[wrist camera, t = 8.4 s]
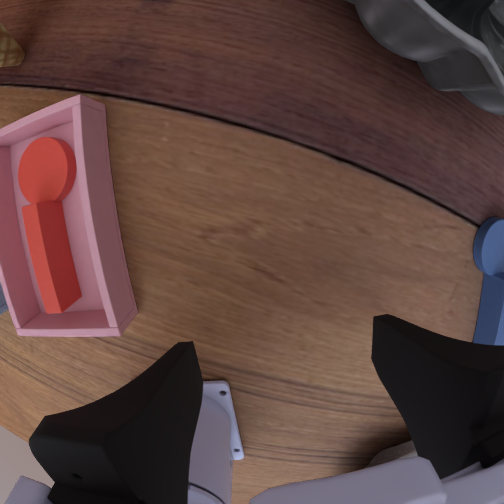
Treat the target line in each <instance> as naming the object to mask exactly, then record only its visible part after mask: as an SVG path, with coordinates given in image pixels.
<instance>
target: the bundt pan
mask: <svg viewBox="0 0 504 504" xmlns="http://www.w3.org/2000/svg"><path fill="white" fill-rule="evenodd" d="M345 1H347V2H349V3H352V4H354V5H355V7H356V10H357V13H358V15H359V18H360V20H361V22H362V24H363V25H364V27H365V28H366V30H367V31H368V32H369V34H370V35H371V36H372V37H373V38H374V39H375V40H376V41H377V42H378V43H379V44H381V45H382V46H383V47H385V48H386V49H388V50H390V51H391V52H393V53H395V54H397V55H399V56H401V57H404V58H407V59H411V60H414V61H416V62H417V63H418V65H419V67H420V69H421V71H422V73H423V75H424V77H425V79H426V81H427V82H428V84H429V85H430V86H432V87H433V88H434V89H437V90H439V91H459V92H460V93H461V94H462V95H463V96H464V97H465V98H467V99H468V100H469V101H470V102H471V103H473V104H474V105H476V106H477V107H479V108H481V109H483V110H485V111H488V112H491V113H494V114H497V115H504V0H345Z"/></svg>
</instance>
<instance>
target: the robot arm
mask: <svg viewBox="0 0 504 504" xmlns="http://www.w3.org/2000/svg"><path fill="white" fill-rule="evenodd" d="M371 359H372V361H373V364H374V367H375V369H376V371H377V374H378V376H379V378H380V380H381V382H382V383H383V385H384V387H385V388H386V390H387V392H388V393H389V395H390V397H391V398H392V400H393V402H394V403H395V405H396V407H397V408H398V410H399V412H400V413H401V415H402V417H403V419H404V421H405V424H406V426H407V428H408V431H409V433H410V436H411V438H412V441H413V444H414V447H415V449H416V452H417V455H418V456H414V457H409V458H403V459H397V460H394V461H390V462H387V463H384V464H380V465H377V466H373V467H369V468H365V469H362V470H357V471H353V472H349V473H345V474H340V475H335V476H330V477H325V478H319V479H314V480H308V481H301V482H294V483H289V484H285V485H281V486H276V487H272V488H269V489H267V490H265V491H264V492H262V493H260V494H258V495H257V496H255V497H253V498H252V499H250V502H249V504H504V345H486V344H478V343H472V342H466V341H462V340H458V339H453V338H450V337H446V336H443V335H440V334H437V333H434V332H432V331H429V330H426V329H424V328H421V327H419V326H417V325H414V324H412V323H409V322H407V321H405V320H402V319H400V318H397V317H395V316H392V315H389V314H384V315H379V316H374V317H373V340H372V357H371ZM221 391H225V393H222V392H221ZM29 446H30V449H31V451H32V453H33V455H34V456H35V458H36V460H37V461H38V462H39V463H40V465H41V466H42V467H43V468H44V470H45V471H46V472H47V473H48V475H49V476H50V477H51V478H52V479H53V481H54V482H55V483H54V485H53V487H52V489H51V488H50V487H48V486H47V485H45V484H43V483H41V482H38V481H35V480H33V479H30V478H27V477H25V476H20V478H19V480H18V481H17V483H16V485H15V486H14V488H13V490H12V491H11V493H10V495H9V497H8V499H7V500H6V502H5V504H231V492H232V469H233V460H239V459H243V458H244V451H243V447H242V443H241V438H240V434H239V429H238V425H237V421H236V416H235V411H234V407H233V402H232V397H231V393H230V388H229V384H228V383H227V382H226V381H222V380H220V381H203V378H202V374H201V371H200V367H199V363H198V359H197V355H196V351H195V347H194V343H193V341H190V342H178V343H177V344H175V345H174V346H173V347H172V348H171V349H170V350H169V351H167V352H166V353H165V354H164V355H163V356H162V357H161V358H160V359H158V360H157V361H156V362H155V363H154V364H153V365H152V366H150V367H149V368H148V369H147V370H145V371H144V372H143V373H142V374H140V375H139V376H138V377H136V378H135V379H134V380H132V381H131V382H129V383H128V384H126V385H125V386H123V387H122V388H120V389H118V390H117V391H115V392H113V393H111V394H109V395H107V396H105V397H103V398H101V399H99V400H97V401H95V402H92V403H90V404H87V405H85V406H82V407H79V408H76V409H73V410H69V411H66V412H61V413H57V414H53V415H48V416H45V417H44V418H43V420H42V421H41V423H40V424H39V425H38V427H37V428H36V430H35V431H34V433H33V434H32V436H31V437H30V439H29Z"/></svg>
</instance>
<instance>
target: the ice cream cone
mask: <svg viewBox="0 0 504 504" xmlns="http://www.w3.org/2000/svg"><path fill="white" fill-rule="evenodd" d="M24 57H25V52H24V51H23V50H22V48H21V47H20V46H19V45H18V44H17V42H16V41H15V40H14V39H13V37H12V36H11V35H10V34H9V32H8V31H7V30H6V29H5V28H4V26H3V25H2V24H1V23H0V67H6V66H17V65H19V64H20V63H21V62H22V61H23V59H24Z"/></svg>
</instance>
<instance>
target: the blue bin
mask: <svg viewBox="0 0 504 504" xmlns="http://www.w3.org/2000/svg"><path fill="white" fill-rule="evenodd" d="M8 309H9V308H8V305H7V302H6V299H5V296H4V292H3V289H2V285H1V282H0V315H1V314H2V313H4V312H5V311H7V310H8Z"/></svg>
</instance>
